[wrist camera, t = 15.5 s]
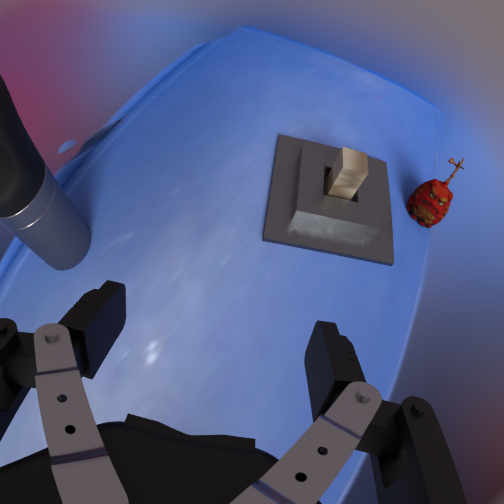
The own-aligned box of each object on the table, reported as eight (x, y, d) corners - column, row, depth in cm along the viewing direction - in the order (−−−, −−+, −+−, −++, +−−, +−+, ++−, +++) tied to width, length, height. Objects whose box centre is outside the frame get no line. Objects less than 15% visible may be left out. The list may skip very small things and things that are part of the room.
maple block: (323, 200, 51) (343, 166, 42) (324, 182, 53) (342, 146, 44) (346, 206, 51) (368, 173, 43) (345, 187, 53) (366, 153, 44)
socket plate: (262, 240, 48) (266, 228, 45) (278, 138, 57) (282, 123, 53) (390, 266, 49) (402, 257, 45) (383, 164, 58) (392, 152, 54)
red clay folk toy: (400, 213, 54) (443, 166, 40) (409, 189, 56) (449, 143, 43) (430, 236, 53) (478, 195, 39) (438, 211, 55) (481, 170, 42)
